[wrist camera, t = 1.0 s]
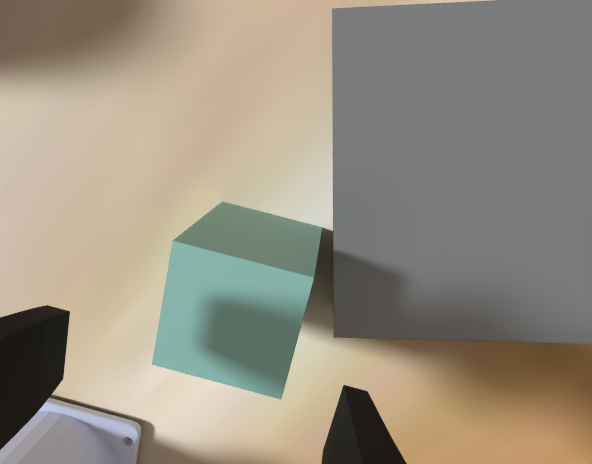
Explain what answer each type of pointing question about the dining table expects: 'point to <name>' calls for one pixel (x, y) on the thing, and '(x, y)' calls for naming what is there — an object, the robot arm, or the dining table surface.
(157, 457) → the dining table surface
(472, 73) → the slate base
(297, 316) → the teal block
